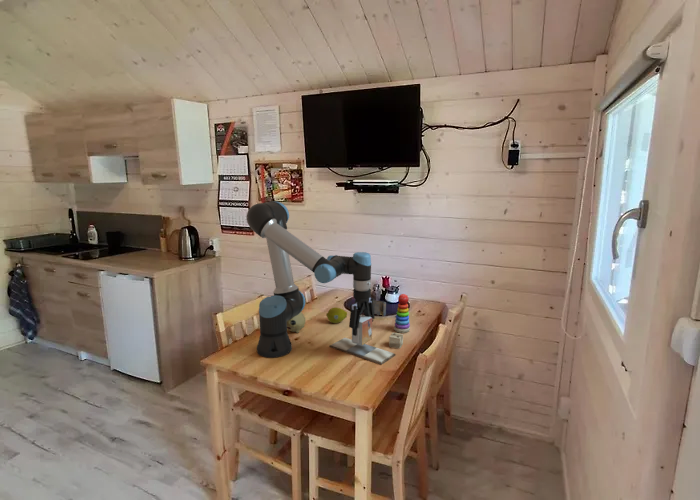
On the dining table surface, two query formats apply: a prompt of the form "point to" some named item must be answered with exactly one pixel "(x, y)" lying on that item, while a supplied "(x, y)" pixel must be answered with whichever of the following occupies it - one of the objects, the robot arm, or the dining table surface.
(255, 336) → the dining table surface
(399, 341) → the die
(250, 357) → the dining table surface
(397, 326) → the stacking toy
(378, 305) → the grey slab
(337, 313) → the green fruit
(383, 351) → the game board
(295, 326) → the toy pig
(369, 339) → the small box
